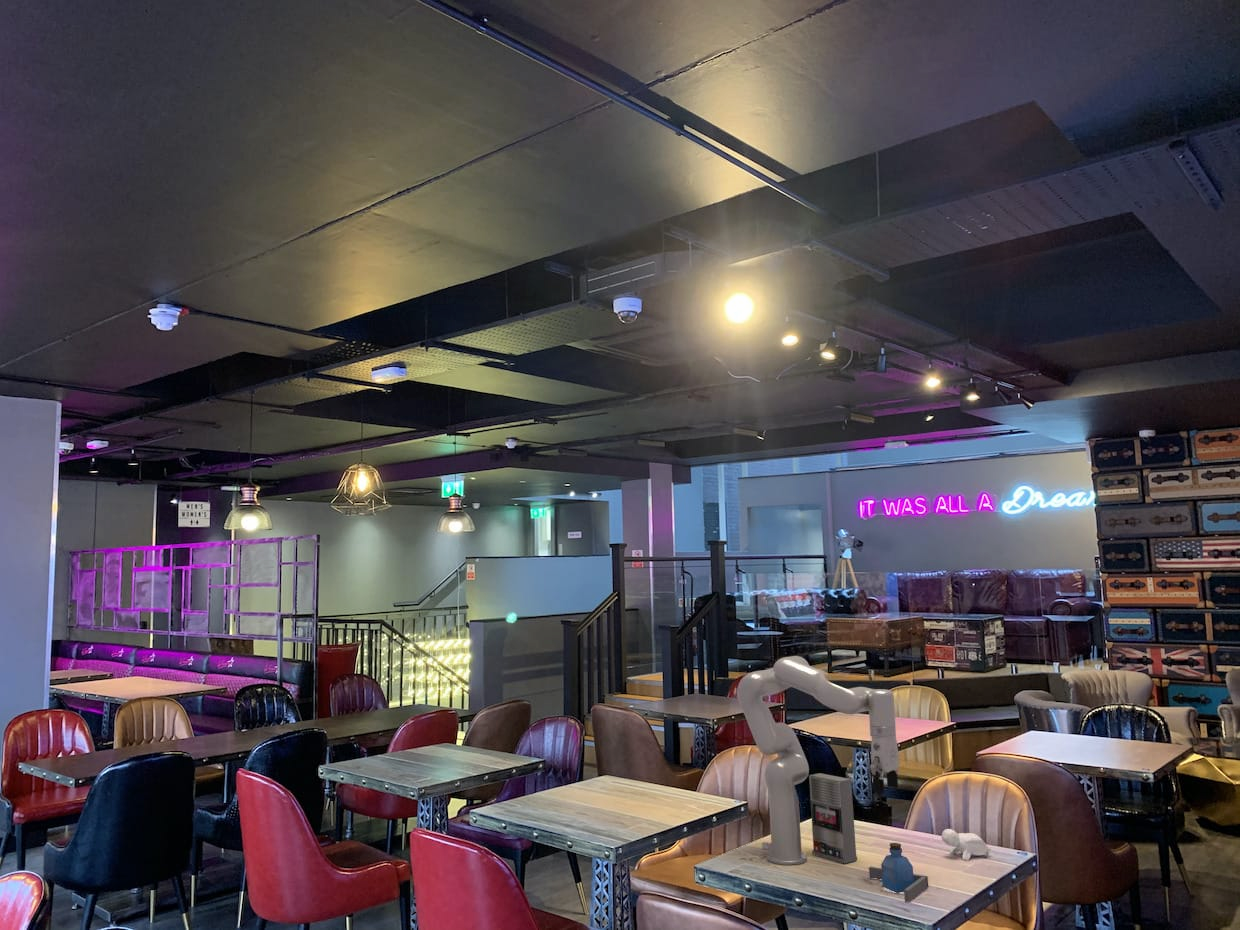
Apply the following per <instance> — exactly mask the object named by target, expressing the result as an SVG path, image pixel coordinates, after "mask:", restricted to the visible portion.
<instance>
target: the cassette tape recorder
mask: <svg viewBox="0 0 1240 930" xmlns="http://www.w3.org/2000/svg"><path fill="white" fill-rule="evenodd" d="M808 780H809V781H808V782H809V797H810V799H809V800H810V813H811V828H812V829H811V831H812V843H813V845H812V846H813V849H812V850H811V854H812V855H814V854H815V855H817V856H818V857H821V858H825V859H828V860H831V861H835V862H838V863H841V864H843V863H844V864H843V865H846V864H848V863H852V862H856V861H858V856H857V847H856V831H855V818H854V804H853V790H852V779H850V778H846V777H842V776H838V775H836V776H835V775H831V774H825V773H822V772H821V773H820V772H819V773H814V774H808ZM815 855H814V856H815ZM845 863H846V864H845Z"/></svg>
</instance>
